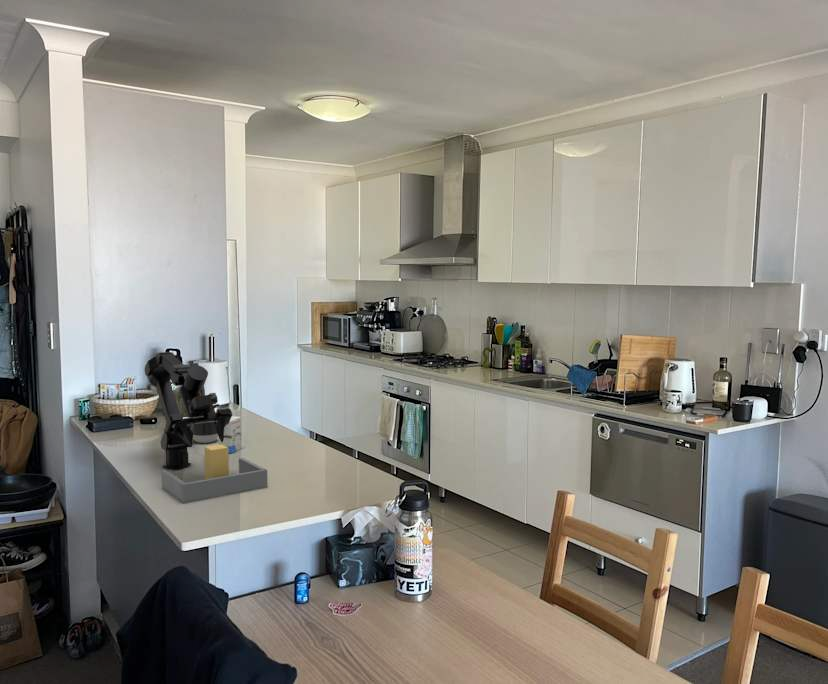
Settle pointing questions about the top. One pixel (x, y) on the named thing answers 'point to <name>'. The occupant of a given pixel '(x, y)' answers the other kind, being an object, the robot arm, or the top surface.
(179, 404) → the tabletop clock
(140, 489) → the top surface
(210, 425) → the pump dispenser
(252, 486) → the open box
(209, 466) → the ochre block
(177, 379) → the robot arm
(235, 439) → the ink box
